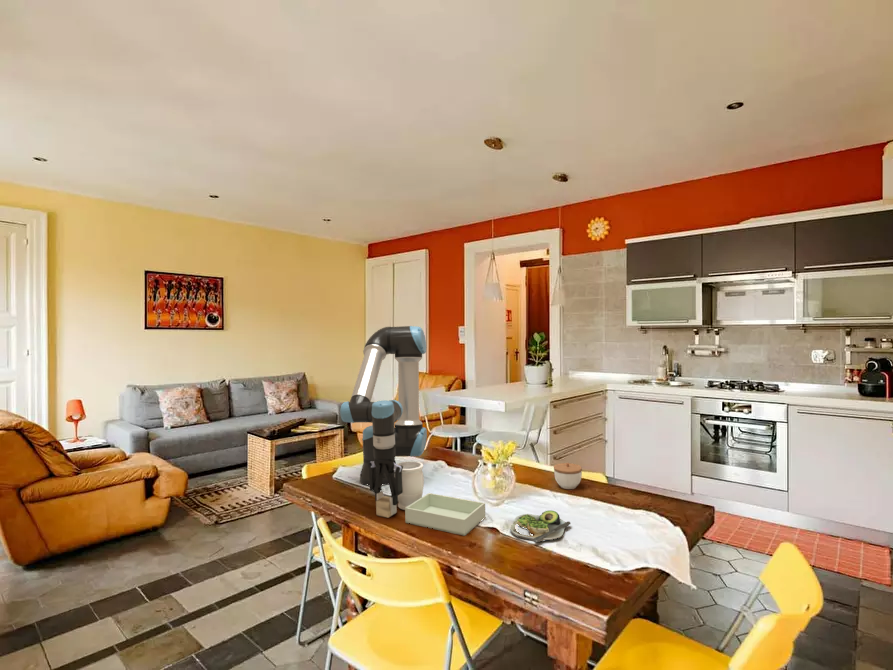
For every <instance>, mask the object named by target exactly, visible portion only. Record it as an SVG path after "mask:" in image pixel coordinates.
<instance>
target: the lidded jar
mask: <svg viewBox="0 0 893 670" xmlns="http://www.w3.org/2000/svg"><path fill="white" fill-rule="evenodd" d="M582 468H583V467H582V466H581V465H579V464H576V463H572V462H571V463H569V462H563V463H561V462H560V463H556V464H555V465H554V466H553V470H554V471H553V473H554V479H555V482H556V483H557V484H558V485H559V487H560V488H561V489H564V490H574V489H576V488H577V487H578V486H579V485H580V483H581V481H582V472H583V469H582Z"/></svg>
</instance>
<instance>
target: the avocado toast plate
mask: <svg viewBox="0 0 893 670" xmlns="http://www.w3.org/2000/svg"><path fill="white" fill-rule="evenodd" d="M516 524H518V525H519V526H521V527H524V528H527V529H528V530H527V529H526V530H527V531H528V532H529V533H531V534H533V536H528V535H529V534H522V533H521V532H520V531H519V532H520V533H521V534H520V533H519V532H517V531H516V529H515V525H516ZM569 525H571V522H570V521H564V520H563V519H562V518H560V514H559V513H558V512H557V511H555V510H552V509H551V510H545V511H543V512H542V513H541V514H539V515H537V514H531V513H525V514H520V515H517V516H516V517H515V518H514V520H513V521H512V524H511V526H510V528H509V529H510V532H511V534H513V535H515V536H516V537H517V536H518V538H520V539H522V540H525V539H529V540H528V541H533V542H534V543H539V542H540V541H542V542H544V541H543V540H550V541H554V540H558V539H560V538H561V537H563V534H564V533H565V532H564V531H565V529H566V528H567V527H569ZM521 527H520V528H521ZM524 528H523V529H524ZM557 538H558V539H557ZM553 539H554V540H553ZM540 543H541V542H540Z"/></svg>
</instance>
